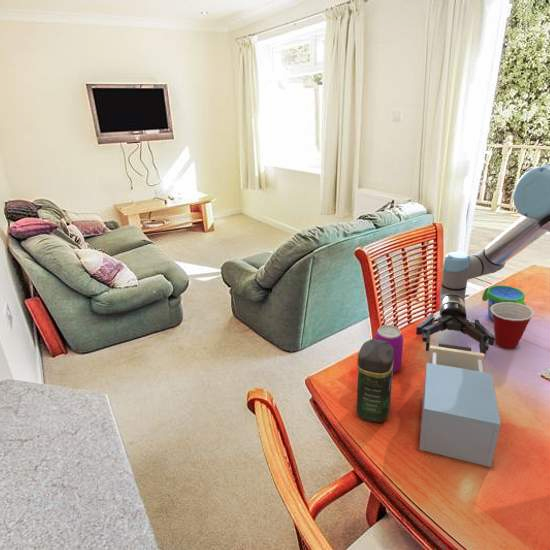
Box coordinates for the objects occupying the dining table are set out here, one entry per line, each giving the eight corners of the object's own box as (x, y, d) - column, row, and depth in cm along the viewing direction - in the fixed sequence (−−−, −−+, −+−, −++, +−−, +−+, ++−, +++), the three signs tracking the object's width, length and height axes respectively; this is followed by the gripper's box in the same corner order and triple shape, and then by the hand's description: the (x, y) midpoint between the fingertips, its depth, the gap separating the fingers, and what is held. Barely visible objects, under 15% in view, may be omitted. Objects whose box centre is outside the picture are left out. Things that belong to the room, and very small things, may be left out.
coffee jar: (386, 427, 88) (390, 363, 80) (353, 418, 91) (354, 356, 84) (393, 400, 96) (397, 339, 88) (362, 392, 99) (363, 333, 92)
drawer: (427, 362, 107) (430, 333, 103) (476, 370, 102) (482, 340, 98) (424, 413, 90) (428, 380, 86) (483, 426, 85) (490, 392, 81)
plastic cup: (484, 331, 120) (490, 298, 115) (523, 337, 116) (531, 303, 111) (484, 350, 112) (491, 315, 107) (527, 357, 107) (536, 321, 102)
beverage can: (406, 364, 108) (409, 329, 103) (392, 378, 103) (395, 342, 98) (382, 354, 113) (383, 320, 108) (368, 367, 108) (369, 332, 103)
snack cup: (533, 328, 120) (540, 300, 115) (503, 333, 118) (509, 305, 114) (498, 305, 134) (503, 280, 130) (471, 310, 132) (475, 284, 128)
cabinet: (422, 400, 95) (426, 362, 90) (483, 412, 90) (491, 373, 85) (419, 449, 82) (424, 408, 77) (491, 467, 77) (500, 424, 72)
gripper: (496, 327, 115) (506, 370, 97) (409, 317, 124) (404, 354, 106) (500, 306, 111) (511, 346, 94) (411, 297, 121) (406, 332, 103)
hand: (454, 351), depth 100 cm, fingers open, 13 cm apart
